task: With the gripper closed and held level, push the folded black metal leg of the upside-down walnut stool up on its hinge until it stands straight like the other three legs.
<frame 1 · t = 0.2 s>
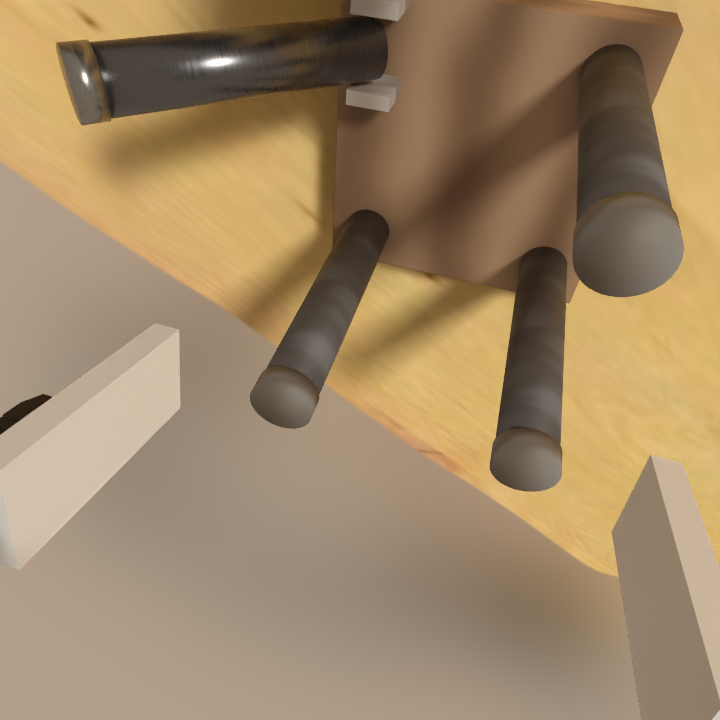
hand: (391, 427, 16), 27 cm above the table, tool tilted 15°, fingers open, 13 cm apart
stool: (478, 142, 37), on the table
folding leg: (237, 64, 28), point 10 cm above the table, hinge at 45.0°
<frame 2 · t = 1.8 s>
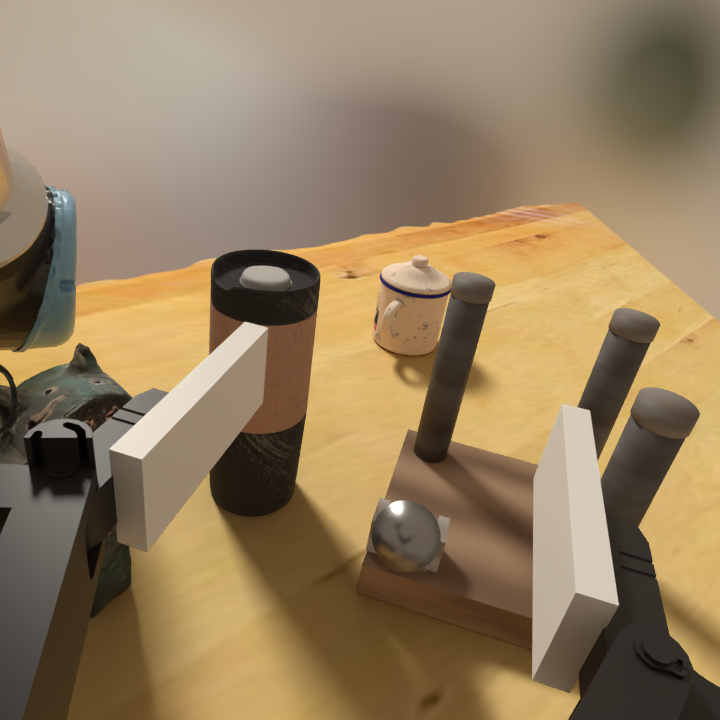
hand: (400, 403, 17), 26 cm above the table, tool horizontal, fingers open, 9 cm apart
teacup with lid: (398, 345, 76), on the table
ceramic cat: (2, 669, 34), on the table
stool: (482, 542, 48), on the table
travel mug: (252, 487, 50), on the table
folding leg: (407, 535, 34), point 10 cm above the table, hinge at 45.0°
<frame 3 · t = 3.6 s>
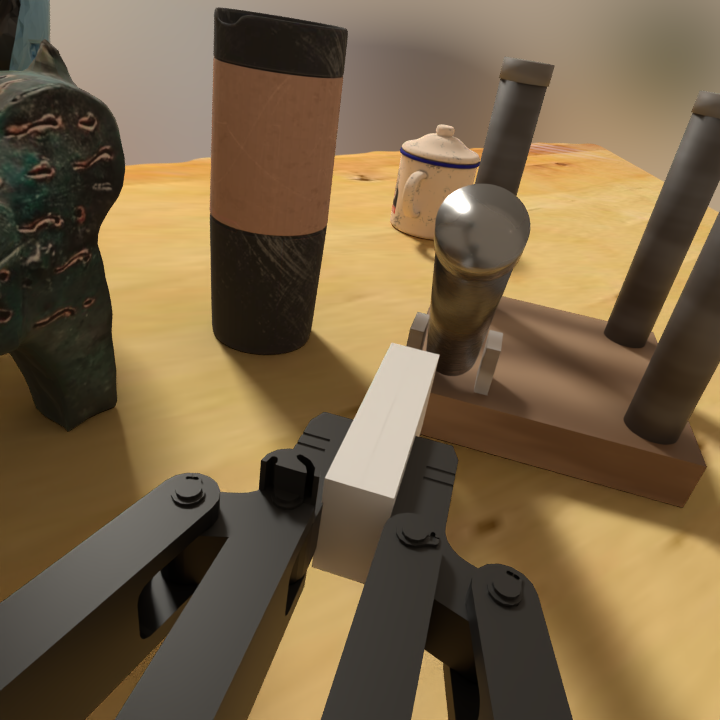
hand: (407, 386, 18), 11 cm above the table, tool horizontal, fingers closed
teacup with lid: (419, 232, 69), on the table
stool: (531, 390, 41), on the table
travel mug: (261, 332, 43), on the table
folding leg: (463, 304, 27), point 10 cm above the table, hinge at 45.0°
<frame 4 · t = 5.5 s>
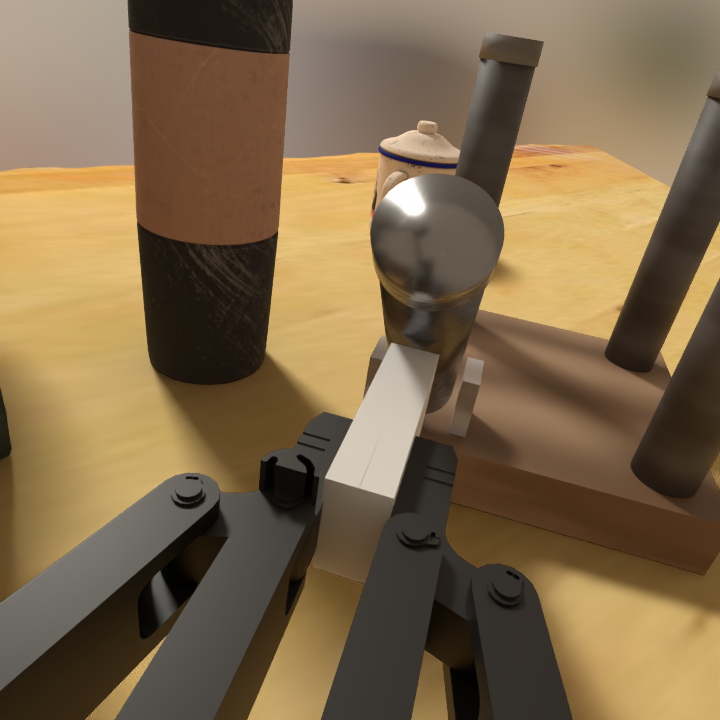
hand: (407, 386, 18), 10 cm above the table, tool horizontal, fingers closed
teacup with lid: (401, 238, 63), on the table
stool: (521, 423, 35), on the table
travel mug: (208, 356, 37), on the table
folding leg: (427, 333, 21), point 10 cm above the table, hinge at 44.9°, touching gripper
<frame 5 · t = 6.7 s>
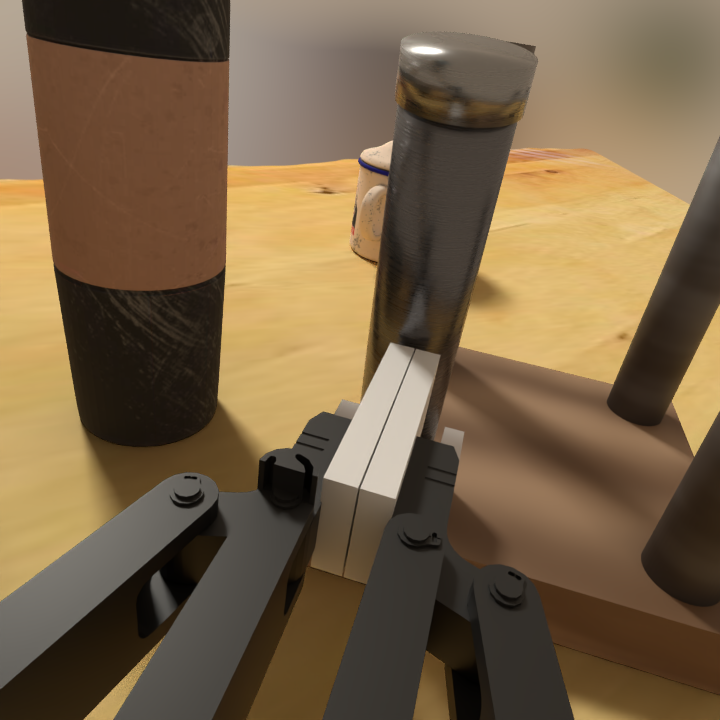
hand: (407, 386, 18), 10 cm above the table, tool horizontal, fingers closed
teacup with lid: (384, 256, 58), on the table
stool: (511, 488, 30), on the table
travel mug: (150, 408, 32), on the table
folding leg: (419, 307, 19), point 12 cm above the table, hinge at 11.8°, touching gripper
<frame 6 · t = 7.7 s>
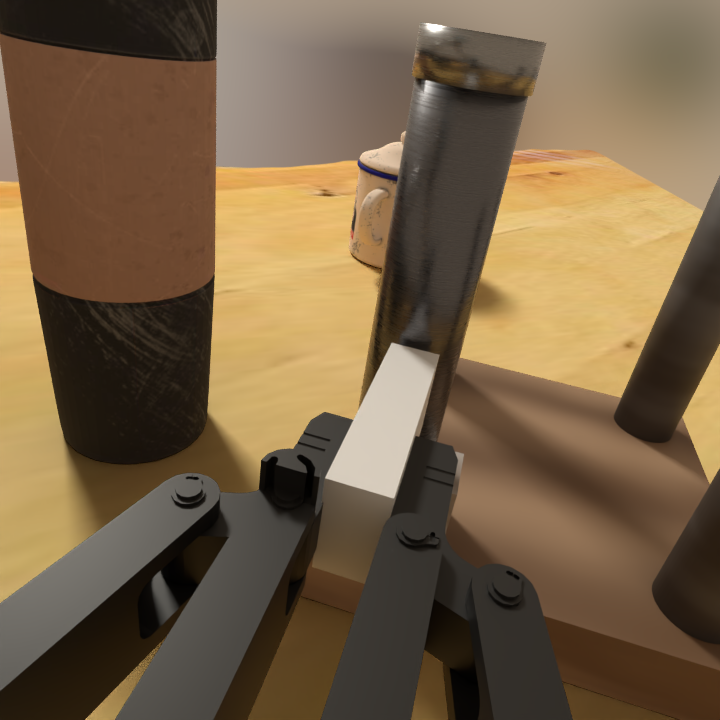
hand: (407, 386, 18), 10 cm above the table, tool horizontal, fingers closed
teacup with lid: (384, 261, 57), on the table
stool: (513, 508, 29), on the table
travel mug: (137, 423, 31), on the table
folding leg: (424, 300, 19), point 12 cm above the table, hinge at 0.1°, touching gripper
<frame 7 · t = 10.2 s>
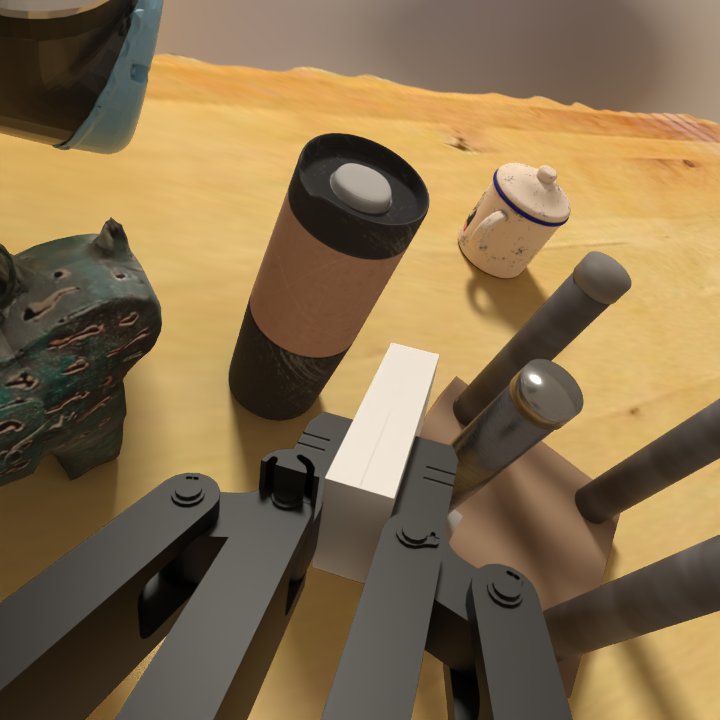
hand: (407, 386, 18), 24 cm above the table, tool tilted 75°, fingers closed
teacup with lid: (481, 256, 67), on the table
stool: (483, 527, 45), on the table
travel mug: (272, 382, 46), on the table
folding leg: (472, 459, 32), point 12 cm above the table, hinge at 0.1°
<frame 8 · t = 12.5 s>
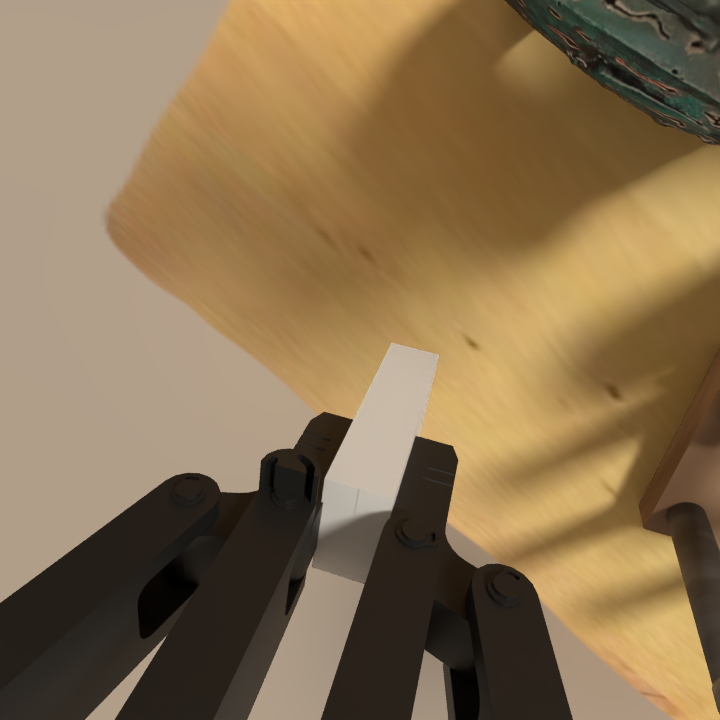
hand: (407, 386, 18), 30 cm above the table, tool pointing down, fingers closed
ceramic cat: (642, 46, 38), on the table
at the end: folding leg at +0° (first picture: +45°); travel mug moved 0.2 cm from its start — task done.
